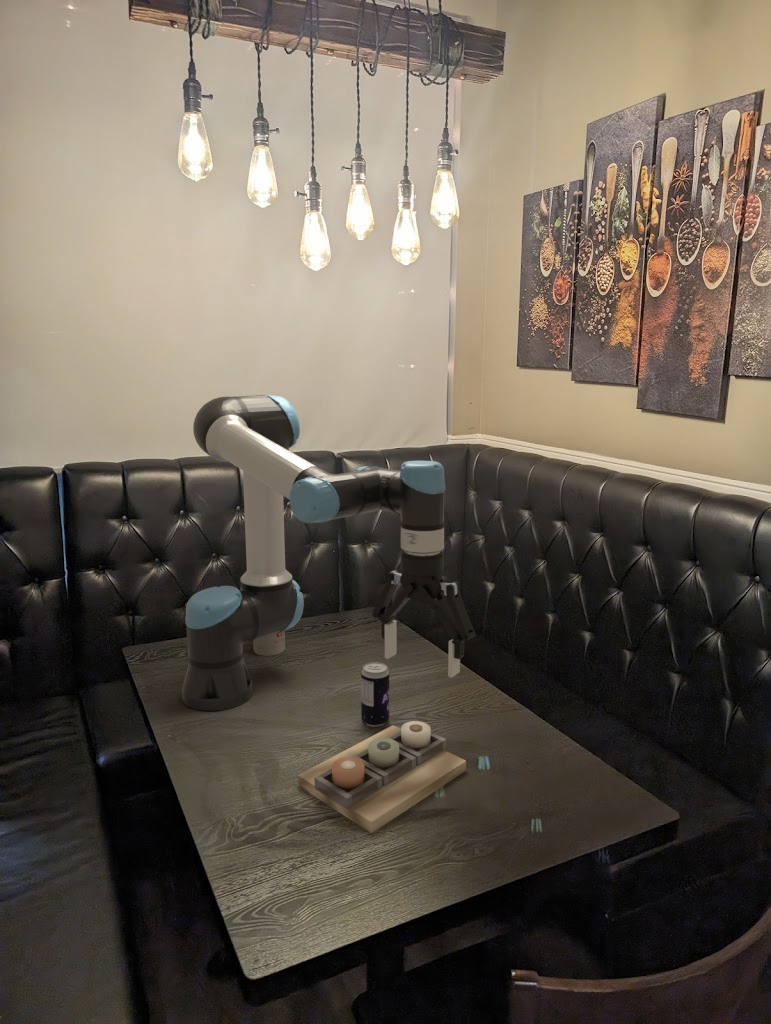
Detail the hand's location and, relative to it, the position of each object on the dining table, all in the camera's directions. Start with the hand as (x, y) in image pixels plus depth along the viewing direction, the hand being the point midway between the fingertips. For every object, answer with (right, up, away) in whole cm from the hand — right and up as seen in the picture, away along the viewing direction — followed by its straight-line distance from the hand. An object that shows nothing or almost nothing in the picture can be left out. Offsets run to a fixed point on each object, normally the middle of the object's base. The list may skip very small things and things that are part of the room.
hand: (421, 665), depth 126 cm
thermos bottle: (-36, -8, +53) cm, 64 cm away
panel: (-7, -20, -2) cm, 21 cm away
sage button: (-7, -16, -3) cm, 18 cm away
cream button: (-1, -15, +3) cm, 15 cm away
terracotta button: (-13, -17, -9) cm, 23 cm away
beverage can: (-9, -16, +17) cm, 25 cm away
